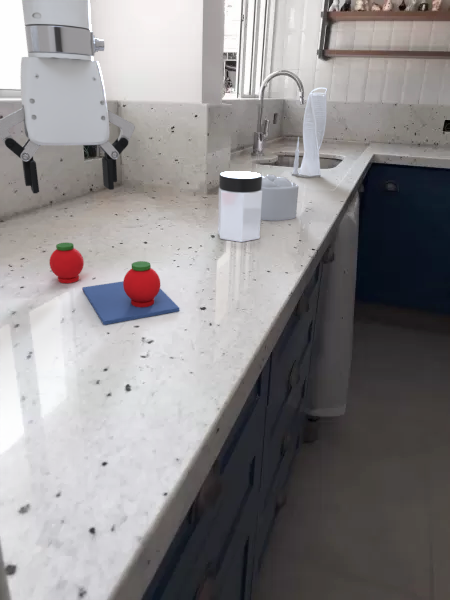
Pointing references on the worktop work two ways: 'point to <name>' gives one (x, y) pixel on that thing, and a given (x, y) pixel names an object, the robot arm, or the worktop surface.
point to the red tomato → (66, 263)
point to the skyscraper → (312, 135)
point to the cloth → (124, 303)
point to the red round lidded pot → (141, 284)
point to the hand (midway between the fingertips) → (73, 189)
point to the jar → (239, 206)
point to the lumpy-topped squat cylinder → (278, 198)
